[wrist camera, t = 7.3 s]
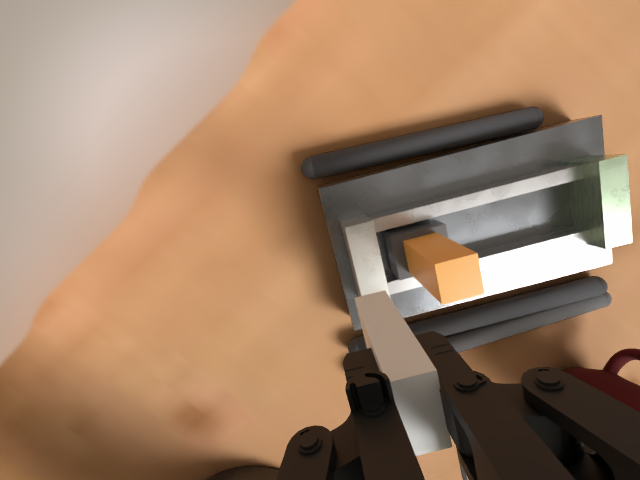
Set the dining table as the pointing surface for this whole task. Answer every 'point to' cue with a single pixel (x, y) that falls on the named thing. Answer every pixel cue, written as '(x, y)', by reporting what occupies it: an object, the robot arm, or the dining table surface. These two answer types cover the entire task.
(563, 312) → the cord
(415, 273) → the lever
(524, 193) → the gray slotted base
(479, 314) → the grey rod
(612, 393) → the mug
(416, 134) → the cord
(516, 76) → the dining table surface
